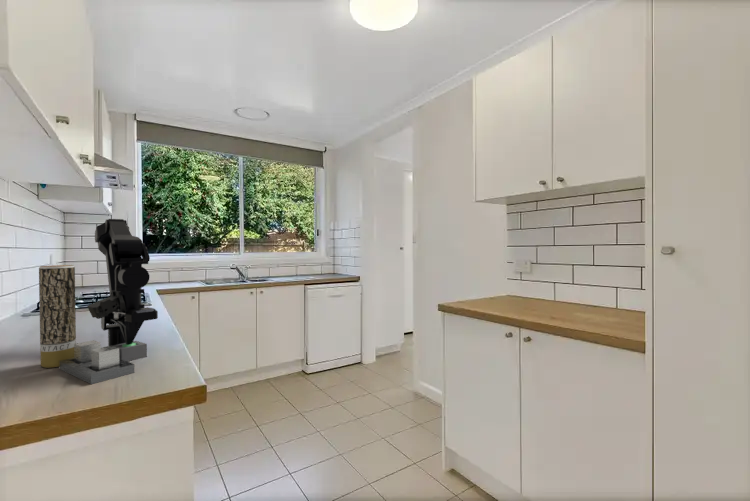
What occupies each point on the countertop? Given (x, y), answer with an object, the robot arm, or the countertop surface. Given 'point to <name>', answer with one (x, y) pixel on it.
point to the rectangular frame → (90, 376)
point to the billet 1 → (84, 351)
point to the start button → (128, 345)
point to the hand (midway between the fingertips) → (129, 344)
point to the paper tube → (57, 314)
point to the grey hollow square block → (132, 351)
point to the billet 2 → (105, 358)
